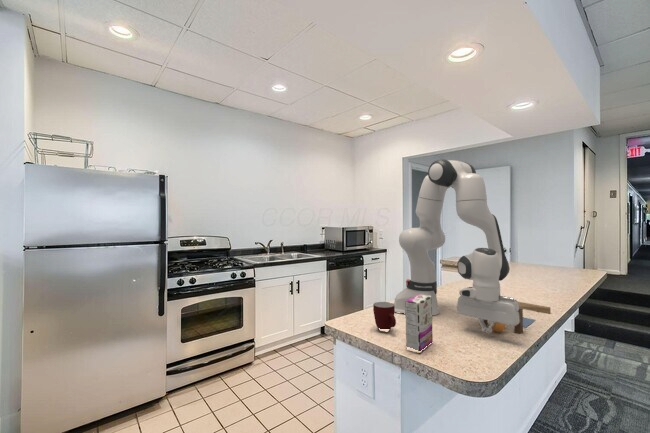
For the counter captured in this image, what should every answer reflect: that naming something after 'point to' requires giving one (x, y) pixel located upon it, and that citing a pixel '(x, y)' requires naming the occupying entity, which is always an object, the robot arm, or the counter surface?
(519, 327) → the bridge
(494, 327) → the ball
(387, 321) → the mug
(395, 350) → the counter surface
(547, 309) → the wall
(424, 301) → the candy bar box
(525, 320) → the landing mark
